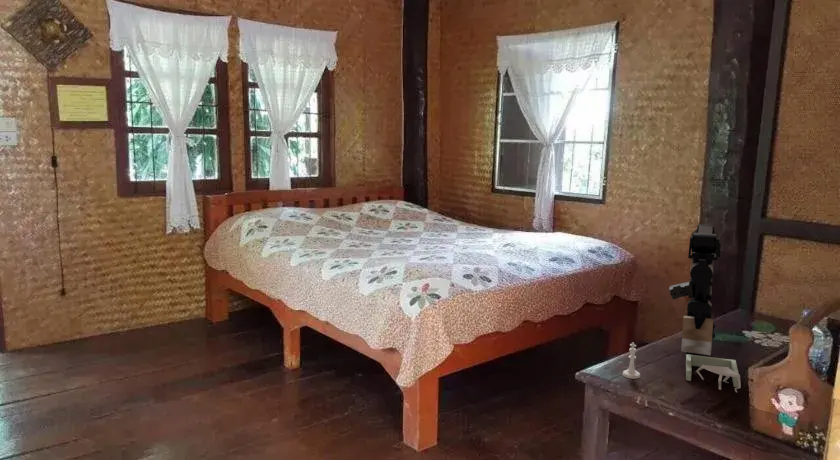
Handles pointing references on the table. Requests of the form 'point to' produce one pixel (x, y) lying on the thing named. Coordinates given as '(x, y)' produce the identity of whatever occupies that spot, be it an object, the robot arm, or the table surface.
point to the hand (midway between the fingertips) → (697, 327)
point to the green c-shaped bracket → (711, 361)
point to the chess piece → (631, 365)
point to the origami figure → (720, 373)
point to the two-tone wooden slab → (697, 336)
